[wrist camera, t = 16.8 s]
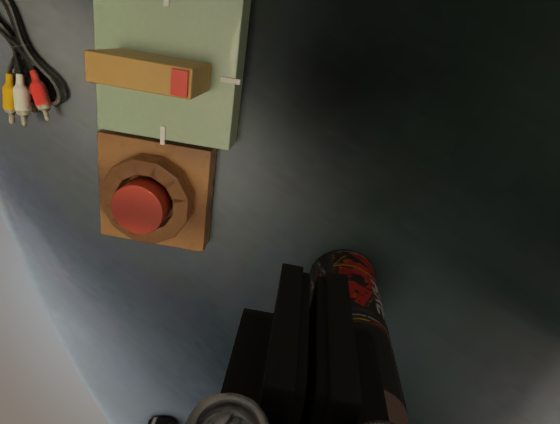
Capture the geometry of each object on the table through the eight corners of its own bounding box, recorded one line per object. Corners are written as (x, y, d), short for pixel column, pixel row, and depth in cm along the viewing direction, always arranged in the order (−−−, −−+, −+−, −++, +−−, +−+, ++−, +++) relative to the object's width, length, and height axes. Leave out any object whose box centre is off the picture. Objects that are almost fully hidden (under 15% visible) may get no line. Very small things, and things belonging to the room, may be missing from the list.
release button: (120, 173, 31) (109, 180, 29) (171, 182, 31) (163, 190, 29) (121, 220, 32) (111, 229, 31) (169, 228, 32) (162, 238, 31)
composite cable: (-21, -11, 30) (-49, -15, 27) (38, -19, 29) (15, -23, 27) (24, 122, 33) (3, 129, 31) (78, 118, 33) (60, 124, 31)
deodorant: (296, 279, 37) (283, 420, 24) (340, 237, 35) (355, 365, 21) (342, 315, 38) (356, 469, 25) (388, 277, 36) (431, 423, 23)
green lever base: (107, -52, 28) (83, -62, 25) (259, -28, 28) (252, -35, 25) (111, 124, 33) (92, 132, 30) (240, 146, 33) (232, 156, 30)
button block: (110, 125, 33) (84, 137, 29) (217, 144, 33) (205, 157, 29) (112, 223, 37) (89, 243, 33) (209, 240, 36) (197, 262, 33)
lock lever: (119, 75, 28) (82, 82, 24) (118, 47, 27) (81, 49, 23) (209, 91, 28) (189, 100, 24) (211, 64, 27) (191, 69, 23)
